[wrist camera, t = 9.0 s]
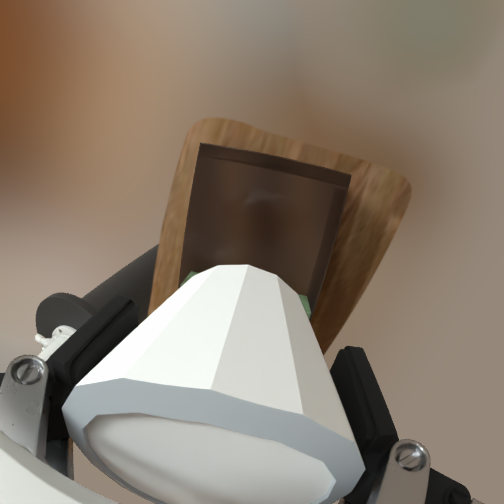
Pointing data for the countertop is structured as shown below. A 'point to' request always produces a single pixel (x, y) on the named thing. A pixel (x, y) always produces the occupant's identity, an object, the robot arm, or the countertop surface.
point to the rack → (263, 217)
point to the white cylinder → (219, 400)
